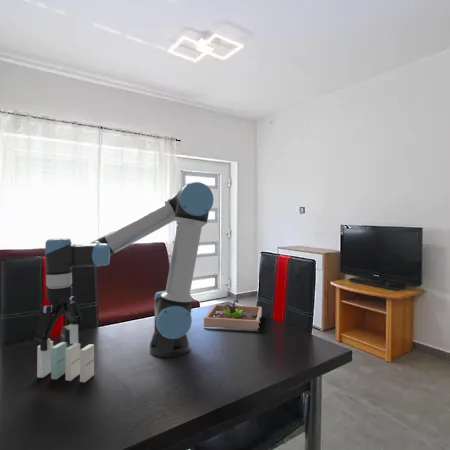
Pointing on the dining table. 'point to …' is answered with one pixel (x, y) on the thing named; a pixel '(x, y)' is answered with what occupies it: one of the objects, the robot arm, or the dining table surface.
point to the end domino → (43, 364)
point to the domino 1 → (58, 360)
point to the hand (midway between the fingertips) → (61, 351)
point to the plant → (234, 313)
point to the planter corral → (233, 322)
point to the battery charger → (66, 335)
